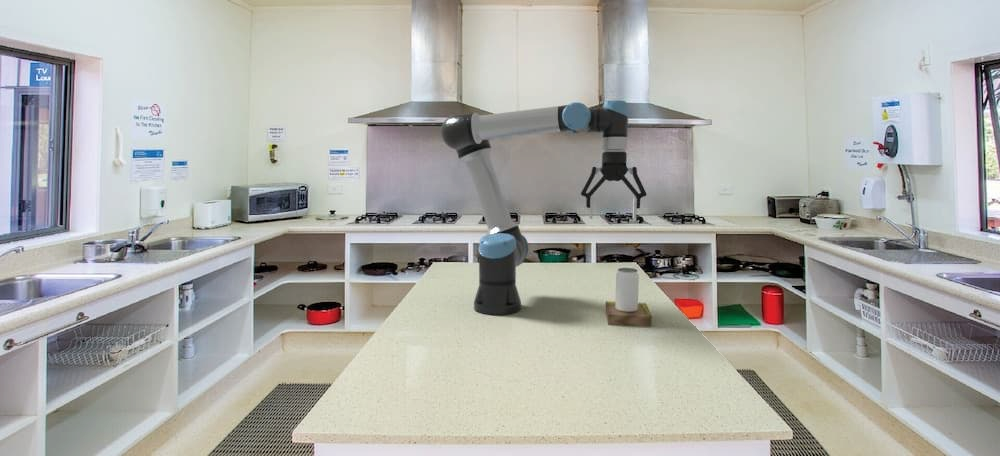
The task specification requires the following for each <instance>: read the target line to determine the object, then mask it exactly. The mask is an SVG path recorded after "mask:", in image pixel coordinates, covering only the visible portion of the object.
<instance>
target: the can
mask: <svg viewBox="0 0 1000 456" xmlns="http://www.w3.org/2000/svg"><path fill="white" fill-rule="evenodd" d="M639 279H640V275H639V273H638V269H636V268H633V267H632V268H631V267H630V268H629V267H620V268H617V273H616V276H615V299H614V300H615V301H614V302H615V308H616V309H617V310H618V311H621V312H635V311H636V310H637V309H638V303H639V284H640V283H639V281H640V280H639Z"/></svg>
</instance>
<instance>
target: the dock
mask: <svg viewBox="0 0 1000 456" xmlns="http://www.w3.org/2000/svg"><path fill="white" fill-rule="evenodd" d="M605 315H606V317H605V318H606V321H607V326H625V327H626V326H629V327H631V326H632V327H648V328H649V327H652V317H653V316H652V312H651V310H650V309H649V307H648V305H647V303H646V302H638V309H637V310H636V311H635V312H621V311H618V310H617V309H616V308H615V301H605Z"/></svg>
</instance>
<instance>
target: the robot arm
mask: <svg viewBox="0 0 1000 456" xmlns="http://www.w3.org/2000/svg"><path fill="white" fill-rule="evenodd" d="M628 127H629V105H628V102H627V101H625V100H621V99H619V100H617V99H616V100H615V99H614V100H613V99H612V100H606V101H604V103H603V106H602V107H599V108H597V107H596V108H589V107H588V106H587V105H586V104H584V103H582V102H577V101H576V102H571V103H569V104H565V105H558V106H547V107H541V108H533V109H524V110H515V111H509V112H508V111H506V112H499V113H489V114H483V115H481V114H479V113H477V112H471V113H470V112H469V113H454V114H451V115H449V116H448V117H446V119H445V120H444V121H443V123H442V125H441V130H440V133H441V134H440V135H441V138H442V140H443V142H444V143H445V145H447V147H449V148H451V149H452V150H455V151H456V154H457V157H458V159H459V161H460V162H462V163H464V164H465V165H466V170H467V172H468V174H469V177H470V180H471V184H472V185H473V190H474V192H475V194H476V197H477V201H478V203H479V207H480V210H481V213H482V215H483V218H484V221H485V223H486V226H487V229H488V230H487V232H486V234H485V235H483V236H482V237H481V238H480V239H479V242H478V263H479V264H478V267H479V268H478V278H479V279H478V281H479V282H478V288H477V291H476V294H475V297H474V301H473V310H474V311H475V312H478V313H481V314H485V315H496V316H497V315H498V316H500V315H501V316H502V315H509V314H514V313H517V312H520V310H521V309H522V301H521V297H520V294H519V292H518V288H517V281H516V279H517V278H516V276H517V272H516V271H517V267H519V266H520V265H521V264H523V263H524V262H525V260H526V259H527V256H528V254H529V252H530V251H529V249H530V247H529V242H528V239H527V238H526V237H525V236H524V235H523V234H522V232H521V230H520V227H519V224H518V223H516V222H514V221H513V220H512V218H511V214H510V211H509V209H508V206H507V203H506V202H507V201H506V199H505V197H504V194H503V191H502V188H501V186H500V183H499V179H498V177H497V175H496V174H497V173H496V171H495V168H494V165H493V162H492V159H491V157H490V154H491V152H492V147H491V144H490V140H495V139H496V140H498V139H505V138H514V137H515V138H517V137H523V136H524V137H525V136H534V135H542V134H551V133H560V132H561V133H562V132H565V133H571V134H589V133H591V134H592V133H602V151H603V152H602V154H601V167H596V166H592V168H591V173H590V175H589V177H588V179H587V181H586V183H585V185H584V187H583V188H582V191H581V192H580V195H581V196H582V197H584V198H586V200H585V201H586V202H585V203H586V206H585V207H586V208H587V209H589V219H593V204H594V201H593V200H594V198H593V197H592V196H593V195H594V193H596V191H597V190H598V189H599V188H600V187H601V185H603V184H604V182H605V181H608V182H612V181H613V182H614V181H615V182H620V181H622V182H623V184H625V186H626V187H627V188H628V190H629V191H631V193H632V195H634V197H633V200H632V219H633V220H637V209H640V207H641V199H642V198H644V197H647V194H648V193H647V192H646V189H645V187H644V185H643V182H641V179H640V177H639V175H638V169H637V167H636V166H632V167H628V165H627V157H628V156H627V155H628V153H627V150H628V129H629V128H628ZM599 172H600V173H601V175H602V176H601V178H600V179H599V180H598V181H597V182H596V184H594V185H593V187H592V188H591V189H590V190H589V188H590V186H591V184H592V182H593V180H594V179H595V176H596V175H597V174H599ZM628 172H629V174H630V175H632V177H633V179H634V182H635V184H636V185H637V188H638V190H639V192H640V193H639V192H638V191H637V190H636V188H635V187H634V186H633V185H632V183H631V182H630V181H629V179H628V178H627V177H626V176H625V175H626V174H627V173H628ZM588 190H589V191H588ZM587 191H588V192H587Z"/></svg>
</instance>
